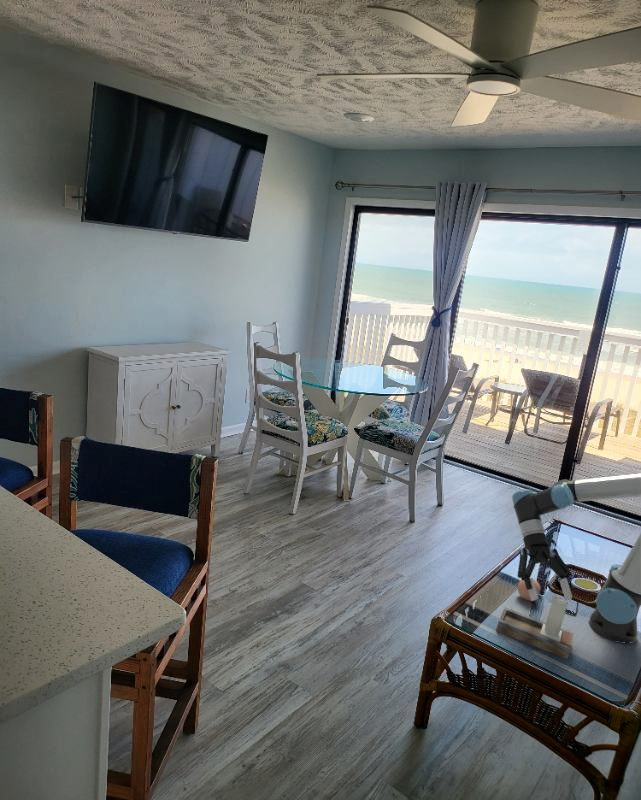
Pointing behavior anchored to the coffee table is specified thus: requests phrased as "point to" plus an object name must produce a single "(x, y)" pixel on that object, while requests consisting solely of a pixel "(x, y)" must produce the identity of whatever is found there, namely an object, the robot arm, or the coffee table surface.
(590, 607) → the coffee table surface
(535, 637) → the track
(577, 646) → the coffee table surface
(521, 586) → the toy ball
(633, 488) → the robot arm
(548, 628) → the disc
